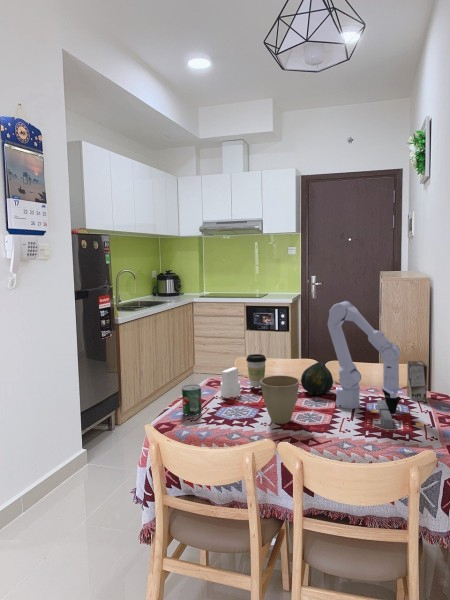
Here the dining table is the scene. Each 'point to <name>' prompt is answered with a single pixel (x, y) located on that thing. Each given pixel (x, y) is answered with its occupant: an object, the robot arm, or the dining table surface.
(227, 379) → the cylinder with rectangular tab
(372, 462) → the dining table surface
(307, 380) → the squash
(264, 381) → the plant pot
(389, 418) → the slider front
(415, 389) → the coffee box
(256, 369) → the coffee cup
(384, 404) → the slider back
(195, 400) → the canned tomato
